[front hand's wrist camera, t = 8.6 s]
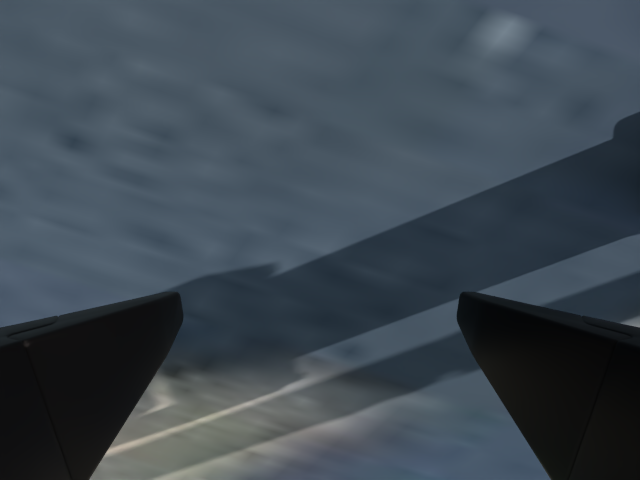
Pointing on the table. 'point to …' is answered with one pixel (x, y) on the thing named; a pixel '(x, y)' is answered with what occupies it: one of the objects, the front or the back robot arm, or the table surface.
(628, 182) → the table surface
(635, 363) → the front robot arm
